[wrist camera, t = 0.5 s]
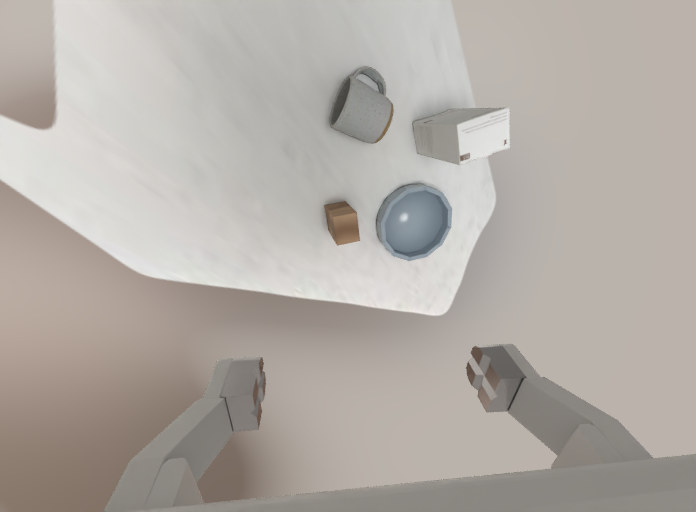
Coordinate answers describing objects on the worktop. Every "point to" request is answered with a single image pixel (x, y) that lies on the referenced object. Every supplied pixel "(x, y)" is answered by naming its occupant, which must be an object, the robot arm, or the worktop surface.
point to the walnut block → (342, 223)
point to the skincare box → (463, 134)
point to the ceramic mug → (362, 108)
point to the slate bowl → (414, 221)
